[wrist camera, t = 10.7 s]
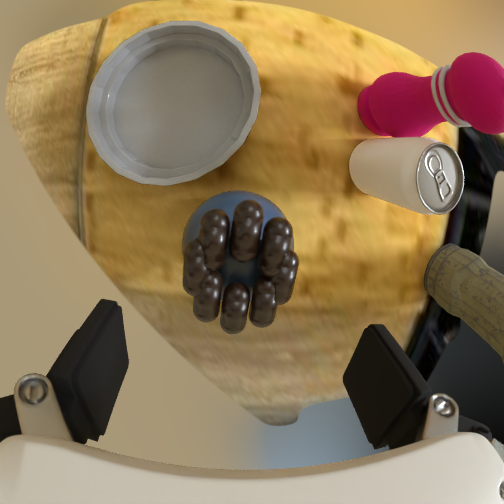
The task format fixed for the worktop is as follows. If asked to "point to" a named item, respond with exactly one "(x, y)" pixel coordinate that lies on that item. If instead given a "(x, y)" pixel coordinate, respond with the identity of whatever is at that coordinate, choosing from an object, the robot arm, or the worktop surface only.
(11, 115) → the worktop surface
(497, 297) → the moai statue figurine
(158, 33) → the bowl
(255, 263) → the ball stand
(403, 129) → the pepper mill
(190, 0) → the worktop surface
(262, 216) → the chocolate capsule cluster
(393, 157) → the can
